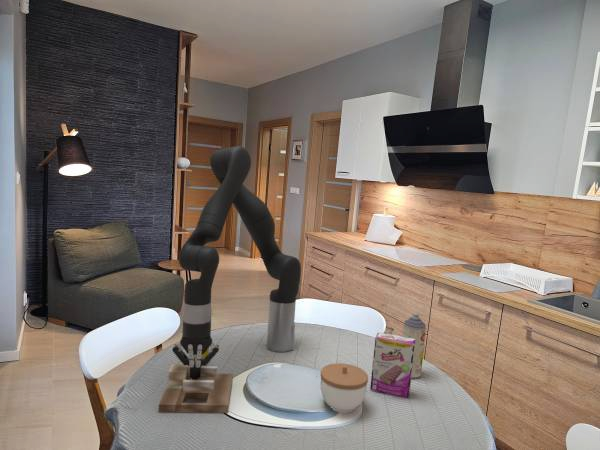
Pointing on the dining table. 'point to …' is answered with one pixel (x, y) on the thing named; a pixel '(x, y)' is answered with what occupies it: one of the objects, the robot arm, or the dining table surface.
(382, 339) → the candy bar box
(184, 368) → the birch block
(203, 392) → the channel deck
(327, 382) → the lidded bowl
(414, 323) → the aerosol can
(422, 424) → the dining table surface
